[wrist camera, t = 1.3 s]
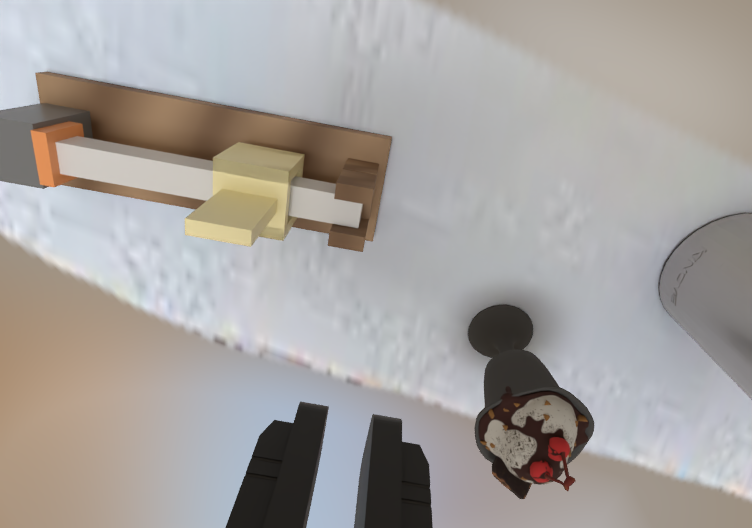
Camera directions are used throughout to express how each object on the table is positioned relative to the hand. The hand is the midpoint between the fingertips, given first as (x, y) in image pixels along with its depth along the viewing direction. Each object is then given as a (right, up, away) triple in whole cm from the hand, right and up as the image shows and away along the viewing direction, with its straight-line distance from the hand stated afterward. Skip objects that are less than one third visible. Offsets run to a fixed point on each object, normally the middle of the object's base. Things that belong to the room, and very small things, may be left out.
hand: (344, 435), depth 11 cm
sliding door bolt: (-10, +11, +18) cm, 23 cm away
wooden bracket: (-10, +11, +19) cm, 24 cm away
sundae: (+10, -1, +24) cm, 26 cm away
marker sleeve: (-6, +10, +16) cm, 20 cm away
